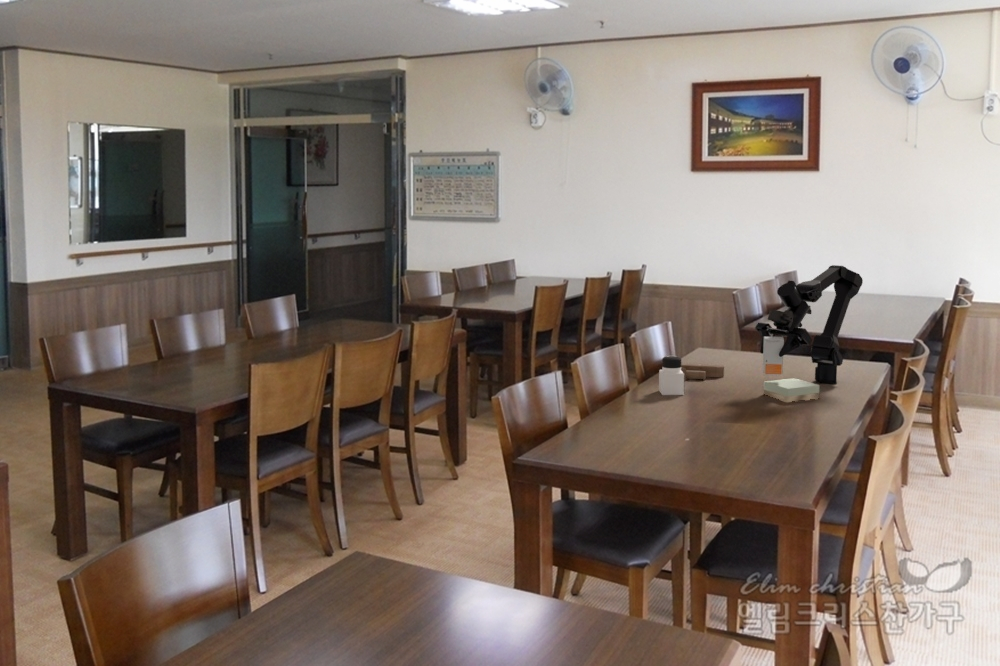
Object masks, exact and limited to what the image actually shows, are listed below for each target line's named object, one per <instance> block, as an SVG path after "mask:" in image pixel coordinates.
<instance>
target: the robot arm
mask: <svg viewBox="0 0 1000 666" xmlns="http://www.w3.org/2000/svg"><path fill="white" fill-rule="evenodd" d="M831 285H833V289H834V292H835V297H834V299H833V302H832V305H831V308H830V311H829V314H828V316H827V319H826V323H825V326H824V328H823V331H822V333H820V334H819V335H818V334H816V335H815V336H814V337H812V336H811V334H810V333H809V332H808V330H807V329H806V328H803V324H802V321H803V320H804V319H805V317H806V315H812V309H811V305H809V304H808V303H816V302H818V300H819V299H820V298H821V297H822V296H823V291H825V290H827V289H828V288H829V287H830V286H831ZM862 285H863V277H862V276H861V275H860V274H859V273H857V272H856V271H853V270H851V269H848V268H847V267H846V266H844V265H834V264H832V265H829V266H828V268H827V269H826V270H824V271H823V272H822V273H820V274H819V275H817V276H815V277H814V278H813V279H811V280H807V281H802V282H800V283H796V281H795V280H788V281H787V282H786V283H783V284H781V285H780V286H779V287H778V288H777V291H776V292H777V295H778V297H779V298H780V300H781V301H782V303H783V304H784V306H785V307H786V308H787V309H785V310H784V311H781V310H777V309H770V310H769V313H768V316H767V320H768V321H771V322H773V324H772V325H773V327H774V328H773V327H772V325H771V324H770V323H768V322H762V321H760V322H758V323H757V324H756V325H755V327H754V329H755V330H756V332H757V333H758V334H759V335H760V337H761V344H760V345H761V346H760V350H759V351H760V354H762V355H763V345H764V337H776V336H778V337H783V338H784V337H785V338H786V340H785V341H784V345H783V347H782V349H781V351H780V353H779V356H780V357H782V356H783V357H784V356H785V355H787V354H789V353H790V352H792V351H794V350H796V349H798V348H800V347H801V348H802V347H803V346H811V347H810V357H811V363H813V364H816V366H814V367H815V368H814V380H815V383H817V382H822V383H821V384H837V383H838V380H837V377H838V376H837V373H838V372H837V371H838V366H839V367H840V366H842V365H843V360H844V357H843V355H842V353H841V351H840V344H839V340H838V338H839V337H838V336H839V334H840V330H841V328H842V326H843V322H844V319H845V317H846V313H847V310H848V308H849V305H850V301H851V300H852V299H853V298H855V296H856V295H858V294H859V292H860V290H861V287H862ZM812 341H813V342H812ZM811 343H812V344H811Z"/></svg>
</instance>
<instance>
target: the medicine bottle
mask: <svg viewBox="0 0 1000 666" xmlns="http://www.w3.org/2000/svg"><path fill="white" fill-rule="evenodd" d="M681 363H682V358H681V357H680V356H677V355H667V356H666V355H665V356H664V357H662V369H659V370H658V371H659V372H658V391H659V392H660V393H661V395H662V396H684V395H685V381H684V376H685V374H684V373H683V372H682V371H681Z"/></svg>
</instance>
